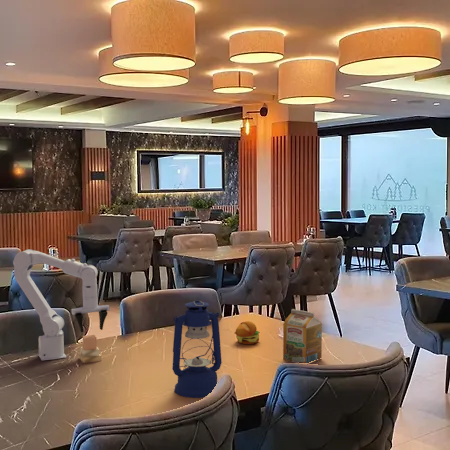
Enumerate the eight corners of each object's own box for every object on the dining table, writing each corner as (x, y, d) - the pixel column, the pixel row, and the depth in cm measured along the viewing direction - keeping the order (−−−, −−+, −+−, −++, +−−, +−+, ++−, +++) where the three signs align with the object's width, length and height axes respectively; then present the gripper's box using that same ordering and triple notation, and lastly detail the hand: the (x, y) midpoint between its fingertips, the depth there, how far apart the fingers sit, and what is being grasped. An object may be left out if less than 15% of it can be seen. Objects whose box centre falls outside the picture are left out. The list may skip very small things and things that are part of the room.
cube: (84, 350, 236) (84, 338, 235) (82, 347, 240) (82, 335, 239) (96, 349, 237) (96, 337, 237) (94, 346, 241) (94, 334, 241)
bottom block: (83, 364, 234) (83, 358, 234) (79, 359, 240) (79, 353, 240) (101, 361, 237) (101, 355, 237) (96, 357, 243) (96, 351, 243)
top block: (83, 357, 235) (83, 351, 234) (80, 353, 240) (80, 347, 240) (99, 355, 237) (99, 349, 237) (96, 351, 242) (95, 345, 242)
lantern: (180, 401, 194) (179, 307, 191) (165, 386, 208) (164, 298, 205) (230, 393, 200) (230, 302, 198) (212, 379, 214) (212, 294, 212)
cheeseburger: (264, 340, 265) (262, 319, 263) (253, 352, 257) (250, 330, 254) (244, 336, 271) (242, 316, 268) (232, 348, 262) (229, 327, 259)
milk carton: (283, 359, 238) (283, 311, 236) (299, 353, 245) (299, 306, 244) (305, 365, 231) (305, 315, 229) (321, 358, 238) (321, 310, 237)
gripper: (73, 300, 235) (74, 335, 236) (110, 296, 240) (112, 330, 242) (70, 296, 241) (71, 331, 242) (106, 293, 247) (107, 326, 248)
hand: (91, 330), depth 242 cm, fingers open, 7 cm apart
